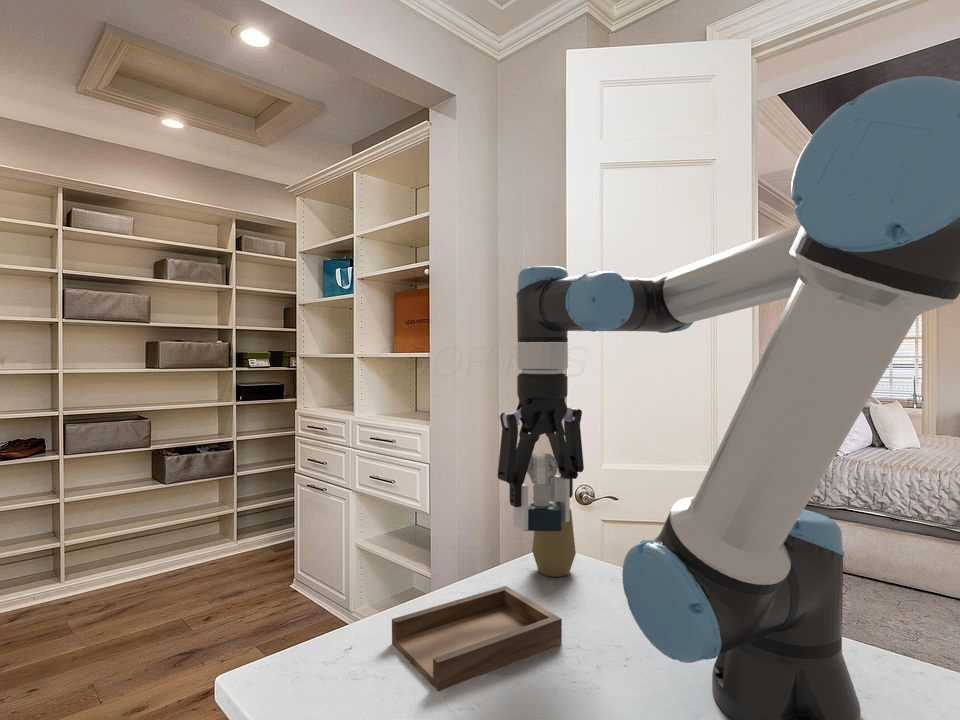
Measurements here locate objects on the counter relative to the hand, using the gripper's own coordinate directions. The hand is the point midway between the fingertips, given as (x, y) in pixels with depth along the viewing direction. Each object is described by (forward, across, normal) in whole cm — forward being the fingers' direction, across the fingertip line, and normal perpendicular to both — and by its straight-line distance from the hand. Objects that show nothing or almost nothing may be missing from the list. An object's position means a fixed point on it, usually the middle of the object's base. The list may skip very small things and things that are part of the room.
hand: (541, 523), depth 85 cm
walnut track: (+15, +11, 0) cm, 19 cm away
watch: (+1, 0, 0) cm, 1 cm away
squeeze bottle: (+16, -14, -15) cm, 26 cm away
